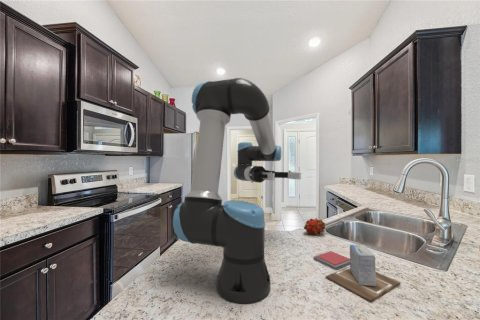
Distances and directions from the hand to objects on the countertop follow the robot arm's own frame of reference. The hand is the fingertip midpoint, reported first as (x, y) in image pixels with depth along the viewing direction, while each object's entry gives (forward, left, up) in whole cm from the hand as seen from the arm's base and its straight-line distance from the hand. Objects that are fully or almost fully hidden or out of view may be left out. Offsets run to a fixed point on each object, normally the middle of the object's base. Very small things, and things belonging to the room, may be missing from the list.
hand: (287, 176), depth 80 cm
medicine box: (+7, -24, -29) cm, 39 cm away
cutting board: (+7, -24, -30) cm, 39 cm away
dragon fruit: (+29, +11, -30) cm, 43 cm away
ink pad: (+11, -12, -30) cm, 34 cm away
